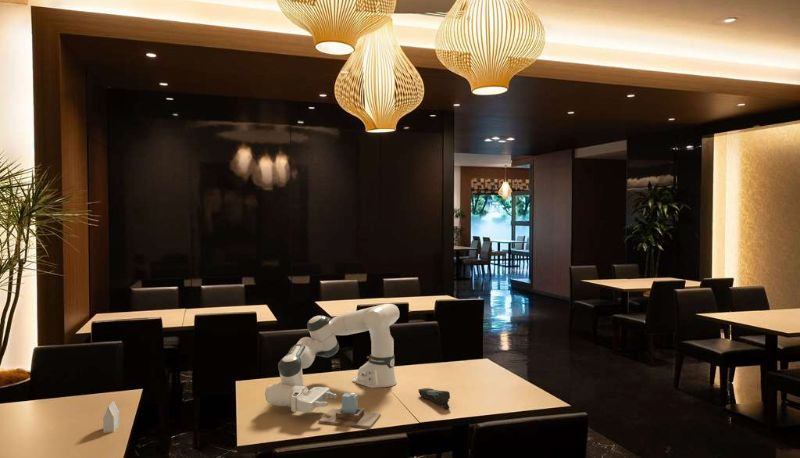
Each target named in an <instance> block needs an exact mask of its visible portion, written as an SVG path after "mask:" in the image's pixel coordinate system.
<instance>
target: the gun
mask: <svg viewBox="0 0 800 458" xmlns="http://www.w3.org/2000/svg"><path fill="white" fill-rule="evenodd" d="M418 393H419V397H422V398H424V399H427V400H431V401H432V402H433V403H434V404H438V405H439V407H441V406H442V408H443V409H444V410H445V411H446V410H449V409H450V406H449V404H448V403H449V401H450V399H451V396H450V395H451V394H450V392H449V391H448V390H438V389H434V388H428V387H427V388H426V387H423V388H419V389H418Z"/></svg>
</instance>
